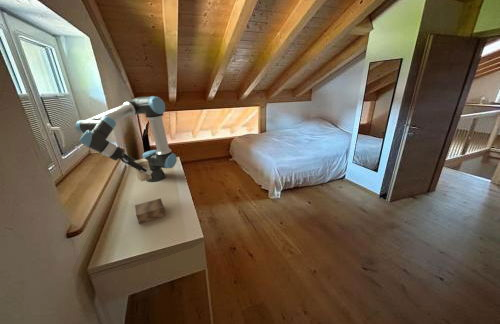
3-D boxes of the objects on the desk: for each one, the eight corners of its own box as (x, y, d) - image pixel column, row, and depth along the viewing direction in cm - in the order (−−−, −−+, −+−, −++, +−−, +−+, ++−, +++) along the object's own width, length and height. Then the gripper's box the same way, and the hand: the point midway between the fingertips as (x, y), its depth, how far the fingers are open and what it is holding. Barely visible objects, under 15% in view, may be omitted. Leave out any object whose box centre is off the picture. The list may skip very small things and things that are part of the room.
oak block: (148, 176, 134) (144, 158, 130) (151, 178, 130) (147, 160, 126) (138, 179, 130) (133, 160, 126) (141, 181, 126) (137, 163, 122)
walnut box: (162, 206, 133) (160, 198, 131) (165, 216, 123) (164, 207, 121) (137, 213, 126) (134, 205, 124) (138, 224, 116) (136, 215, 114)
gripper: (107, 153, 124) (143, 171, 138) (109, 161, 109) (149, 181, 123) (115, 142, 125) (150, 162, 139) (118, 150, 110) (157, 171, 124)
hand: (149, 171), depth 131 cm, fingers closed on oak block, 7 cm apart
